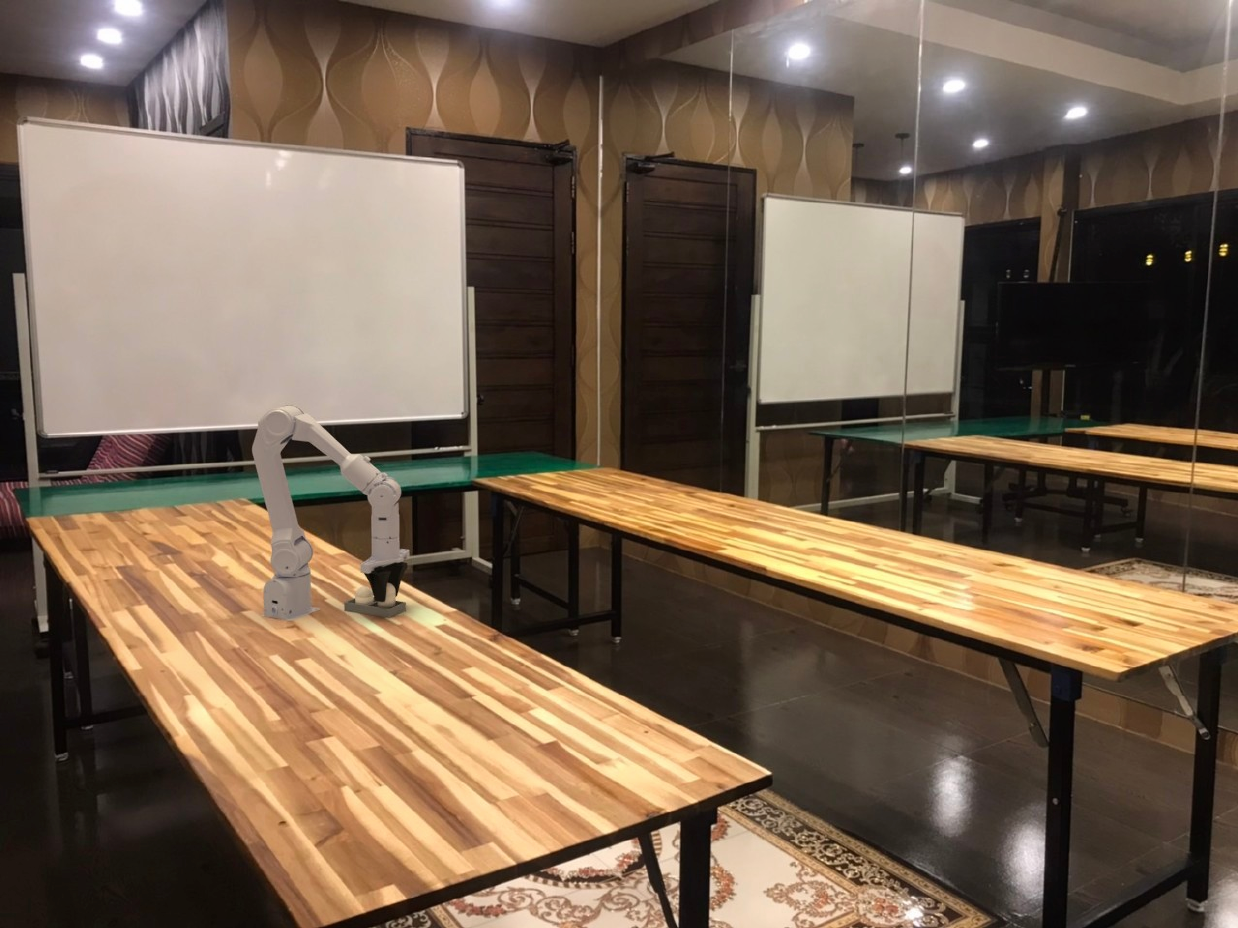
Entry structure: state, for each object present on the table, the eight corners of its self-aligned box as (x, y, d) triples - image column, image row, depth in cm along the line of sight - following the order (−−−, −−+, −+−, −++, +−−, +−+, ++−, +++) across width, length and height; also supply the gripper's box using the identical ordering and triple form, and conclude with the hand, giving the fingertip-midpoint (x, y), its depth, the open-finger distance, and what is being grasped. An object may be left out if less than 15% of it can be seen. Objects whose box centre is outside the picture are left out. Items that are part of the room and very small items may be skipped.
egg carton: (389, 619, 195) (389, 609, 195) (344, 612, 200) (344, 602, 199) (405, 612, 201) (405, 602, 200) (361, 605, 205) (361, 595, 205)
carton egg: (366, 612, 199) (366, 589, 198) (351, 609, 200) (351, 587, 199) (377, 607, 202) (377, 585, 201) (362, 605, 204) (362, 583, 203)
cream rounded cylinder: (388, 608, 196) (388, 586, 196) (373, 606, 198) (373, 583, 197) (399, 604, 200) (399, 581, 199) (384, 601, 201) (384, 579, 201)
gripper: (380, 545, 189) (381, 610, 191) (421, 531, 202) (421, 592, 204) (351, 541, 191) (352, 605, 193) (393, 528, 204) (394, 588, 206)
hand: (386, 598), depth 199 cm, fingers closed on cream rounded cylinder, 4 cm apart
